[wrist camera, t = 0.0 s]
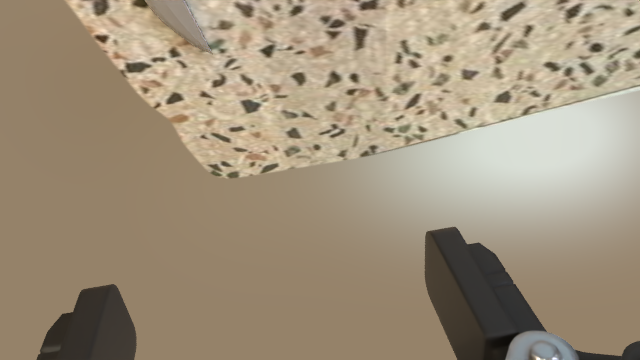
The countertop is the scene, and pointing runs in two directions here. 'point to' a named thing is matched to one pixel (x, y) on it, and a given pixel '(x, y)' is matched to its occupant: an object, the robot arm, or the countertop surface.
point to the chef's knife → (179, 21)
